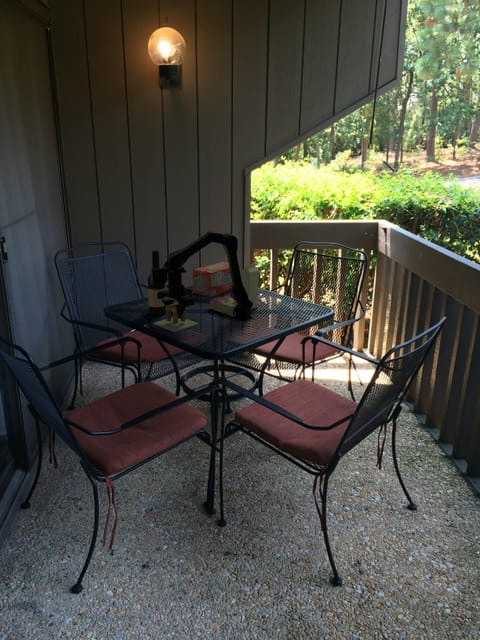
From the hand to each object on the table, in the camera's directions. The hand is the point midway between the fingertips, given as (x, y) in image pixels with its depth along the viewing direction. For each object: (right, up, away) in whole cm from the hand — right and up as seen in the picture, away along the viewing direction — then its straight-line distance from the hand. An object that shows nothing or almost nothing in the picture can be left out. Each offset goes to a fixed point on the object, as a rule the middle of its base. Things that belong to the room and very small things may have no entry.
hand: (175, 316), depth 217 cm
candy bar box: (+17, +8, +26) cm, 32 cm away
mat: (0, -3, +1) cm, 4 cm away
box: (+15, +15, +54) cm, 58 cm away
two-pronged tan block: (0, -2, +1) cm, 2 cm away
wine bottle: (-11, +2, +15) cm, 19 cm away
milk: (+33, +5, +27) cm, 42 cm away
